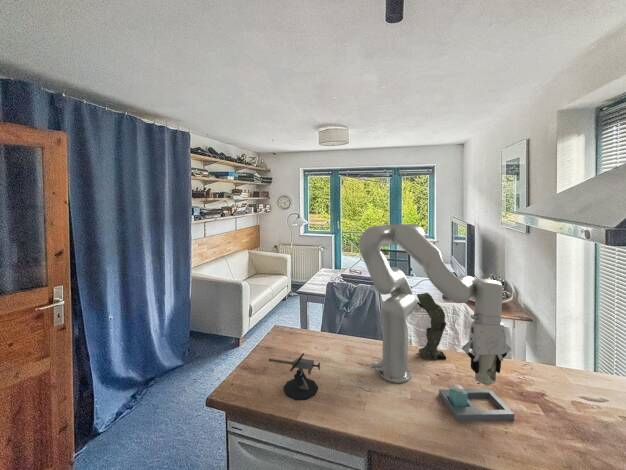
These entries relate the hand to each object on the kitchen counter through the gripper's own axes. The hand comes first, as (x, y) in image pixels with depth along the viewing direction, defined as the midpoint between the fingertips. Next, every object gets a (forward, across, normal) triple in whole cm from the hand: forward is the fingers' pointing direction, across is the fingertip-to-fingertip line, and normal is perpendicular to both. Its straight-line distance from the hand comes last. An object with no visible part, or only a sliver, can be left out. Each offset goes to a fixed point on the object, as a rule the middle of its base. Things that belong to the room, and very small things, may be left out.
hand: (485, 370), depth 100 cm
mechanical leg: (+13, -4, +34) cm, 37 cm away
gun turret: (+12, -64, +12) cm, 67 cm away
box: (+4, 0, 0) cm, 4 cm away
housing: (+13, -3, 0) cm, 13 cm away
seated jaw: (+13, -9, 0) cm, 15 cm away
